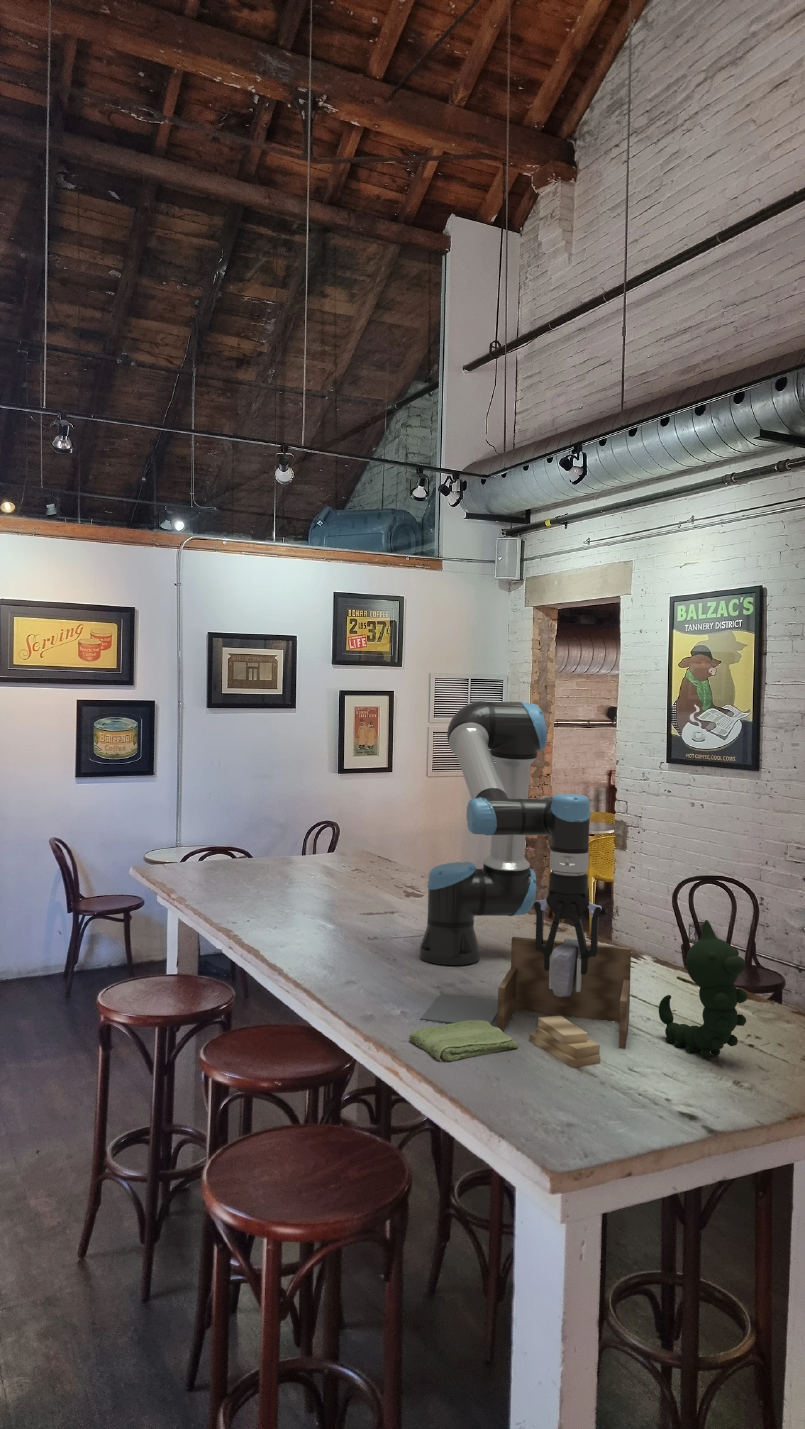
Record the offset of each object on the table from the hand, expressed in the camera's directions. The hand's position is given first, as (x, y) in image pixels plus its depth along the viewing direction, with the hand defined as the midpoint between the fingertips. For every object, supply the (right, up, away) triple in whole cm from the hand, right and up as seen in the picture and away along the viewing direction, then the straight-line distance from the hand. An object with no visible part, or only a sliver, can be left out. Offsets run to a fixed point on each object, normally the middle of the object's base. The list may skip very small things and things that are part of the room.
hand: (565, 988), depth 187 cm
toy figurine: (+23, -9, -11) cm, 27 cm away
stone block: (+1, -1, 0) cm, 2 cm away
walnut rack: (0, -8, 0) cm, 8 cm away
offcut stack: (-3, -8, -13) cm, 16 cm away
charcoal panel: (-20, -7, +8) cm, 22 cm away
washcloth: (-21, -8, -11) cm, 25 cm away
